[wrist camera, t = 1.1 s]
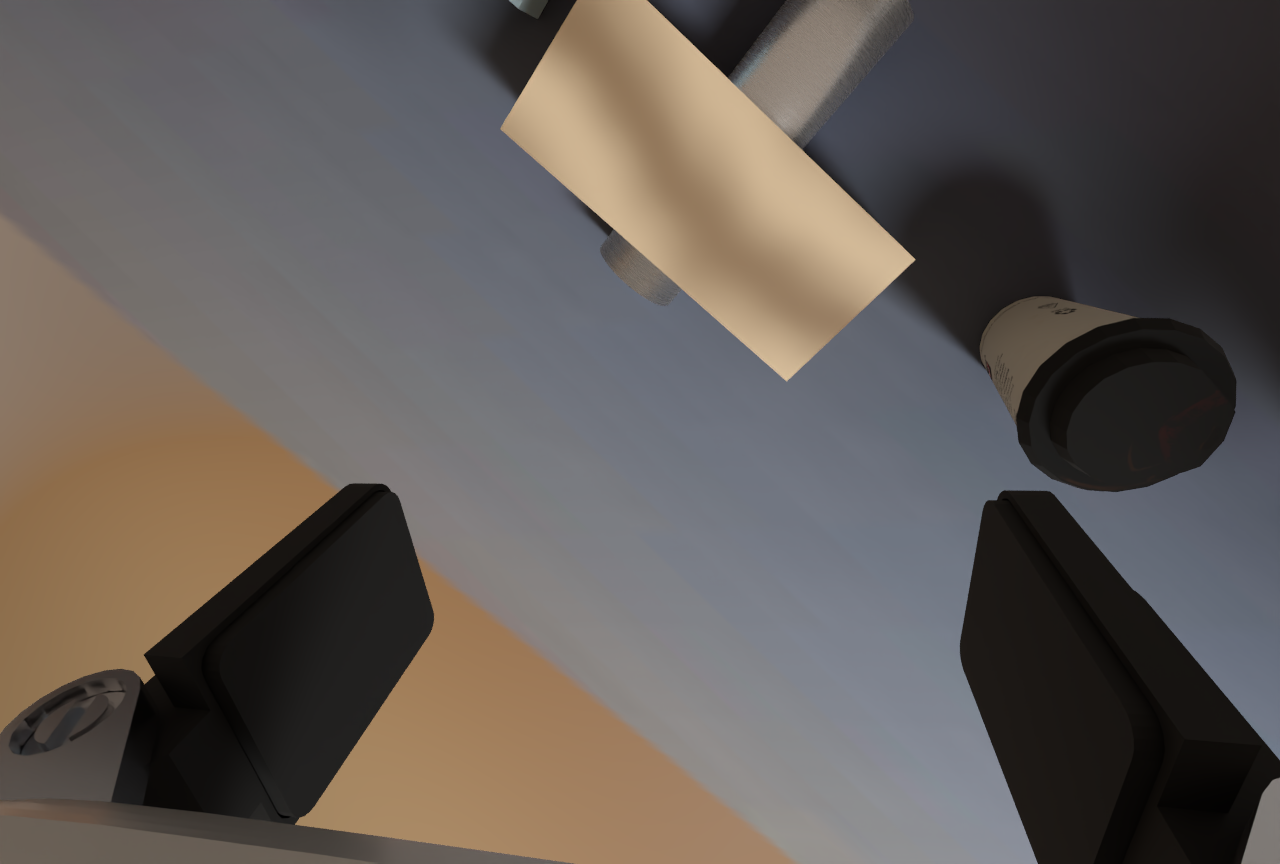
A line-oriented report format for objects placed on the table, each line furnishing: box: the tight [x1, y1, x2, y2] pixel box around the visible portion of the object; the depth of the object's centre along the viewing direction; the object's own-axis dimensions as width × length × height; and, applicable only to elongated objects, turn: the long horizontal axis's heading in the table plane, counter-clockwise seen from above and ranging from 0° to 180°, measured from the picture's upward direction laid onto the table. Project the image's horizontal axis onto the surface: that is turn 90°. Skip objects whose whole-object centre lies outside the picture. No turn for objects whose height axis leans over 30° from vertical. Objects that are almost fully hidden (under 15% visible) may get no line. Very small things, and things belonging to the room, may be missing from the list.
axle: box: [600, 0, 914, 306], centre depth 27 cm, size 15×4×4 cm, turn 141°
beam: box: [500, 0, 916, 381], centre depth 27 cm, size 7×16×6 cm, turn 51°
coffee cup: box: [980, 296, 1236, 492], centre depth 26 cm, size 7×7×10 cm
